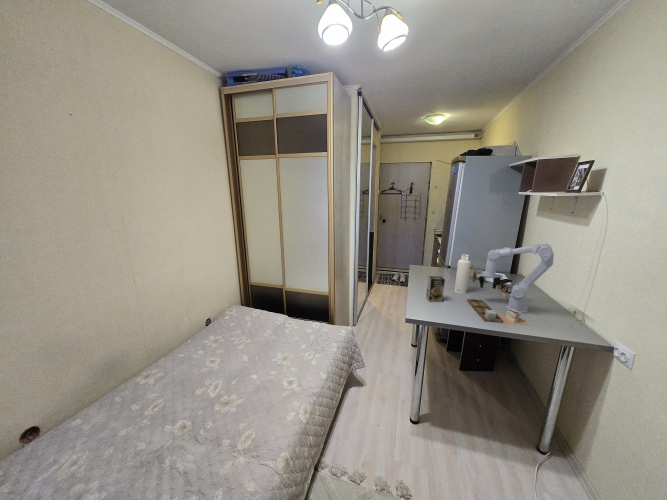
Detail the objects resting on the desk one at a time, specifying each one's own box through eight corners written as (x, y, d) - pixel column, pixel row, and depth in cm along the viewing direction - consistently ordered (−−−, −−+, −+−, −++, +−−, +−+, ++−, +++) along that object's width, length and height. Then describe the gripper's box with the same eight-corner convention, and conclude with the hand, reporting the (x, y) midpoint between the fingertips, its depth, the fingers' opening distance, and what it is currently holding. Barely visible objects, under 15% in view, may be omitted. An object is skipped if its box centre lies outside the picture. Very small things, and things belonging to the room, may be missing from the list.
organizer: (481, 302, 166) (482, 299, 165) (502, 323, 140) (503, 320, 139) (466, 301, 167) (466, 298, 167) (484, 322, 141) (485, 319, 140)
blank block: (491, 316, 146) (492, 310, 145) (495, 319, 142) (496, 313, 142) (484, 315, 147) (485, 309, 146) (487, 319, 143) (488, 313, 142)
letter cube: (511, 316, 146) (512, 308, 145) (519, 321, 141) (521, 312, 140) (505, 318, 144) (506, 310, 143) (513, 322, 140) (515, 314, 139)
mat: (516, 316, 147) (516, 316, 147) (526, 325, 138) (527, 324, 137) (498, 315, 148) (498, 314, 148) (507, 324, 139) (507, 323, 139)
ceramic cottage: (459, 280, 206) (463, 263, 202) (467, 276, 216) (471, 260, 212) (479, 287, 195) (483, 269, 191) (487, 283, 205) (491, 265, 201)
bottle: (463, 289, 187) (468, 253, 180) (468, 294, 179) (473, 256, 173) (452, 289, 188) (457, 253, 181) (456, 293, 180) (461, 256, 173)
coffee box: (428, 301, 166) (431, 279, 162) (425, 297, 173) (427, 275, 169) (442, 302, 166) (445, 279, 162) (438, 298, 172) (441, 276, 168)
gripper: (499, 267, 163) (496, 286, 166) (476, 266, 165) (473, 285, 168) (505, 270, 156) (501, 290, 159) (480, 269, 158) (477, 289, 161)
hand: (487, 288), depth 163 cm, fingers open, 7 cm apart
